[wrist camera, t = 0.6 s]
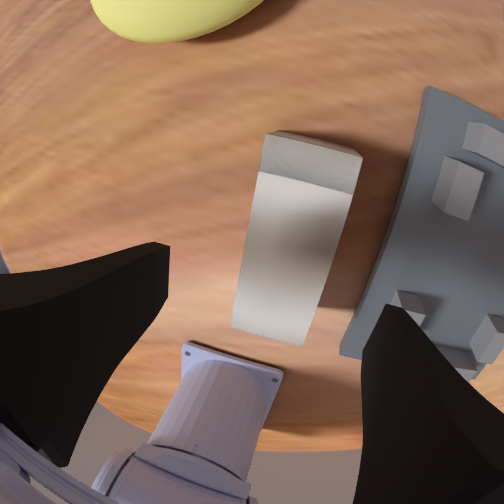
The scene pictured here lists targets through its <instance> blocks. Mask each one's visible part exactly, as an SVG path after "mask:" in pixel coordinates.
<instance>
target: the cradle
mask: <svg viewBox="0 0 504 504" xmlns="http://www.w3.org/2000/svg"><path fill="white" fill-rule="evenodd" d="M385 304H390V305H394V306H398V307H402V308H403V309H404V310H405V311H406V312H407V313H408V314H409V315H410V316H411V317H412V318H413V319H414V321H415V322H416V323H417V324H418V325H419V327H420V328H421V329H422V330H423V331H424V333H425V334H426V335H427V336H428V337H429V339H430V340H431V341H432V342H433V344H434V345H435V346H436V347H437V348H438V350H439V351H440V352H441V353H442V354H443V356H444V357H445V358H446V359H447V360H448V361H449V362H450V363H451V365H452V366H453V367H454V368H455V369H456V370H457V371H458V372H459V373H460V375H461V376H462V377H463V378H464V379H465V380H466V381H467V382H468V383H469V381H470V380H471V379H475V378H476V377H477V376H478V374H479V373H480V372H481V370H482V369H483V368H484V366H485V365H486V364H493V362H494V361H495V359H496V358H497V357H498V355H499V354H500V352H501V351H502V349H503V348H504V122H503V121H501V120H500V119H498V118H496V117H494V116H493V115H491V114H489V113H487V112H485V111H483V110H481V109H479V108H477V107H476V106H474V105H472V104H470V103H467V102H465V101H463V100H461V99H459V98H457V97H455V96H453V95H450V94H448V93H446V92H444V91H441V90H439V89H437V88H434V87H432V86H429V87H425V90H424V95H423V100H422V105H421V109H420V114H419V119H418V123H417V127H416V132H415V136H414V140H413V144H412V148H411V152H410V155H409V159H408V163H407V167H406V170H405V174H404V177H403V181H402V184H401V187H400V191H399V194H398V197H397V200H396V204H395V207H394V210H393V213H392V216H391V219H390V222H389V225H388V228H387V231H386V234H385V236H384V239H383V242H382V245H381V248H380V250H379V253H378V256H377V258H376V261H375V264H374V266H373V269H372V271H371V274H370V276H369V279H368V281H367V284H366V286H365V289H364V291H363V294H362V296H361V298H360V301H359V303H358V306H357V308H356V310H355V312H354V315H353V317H352V319H351V322H350V324H349V326H348V328H347V330H346V333H345V335H344V337H343V339H342V341H341V343H340V350H339V355H342V356H346V357H351V358H355V359H360V360H362V351H363V348H364V347H365V345H366V343H367V341H368V339H369V337H370V335H371V333H372V331H373V329H374V327H375V325H376V323H377V321H378V319H379V317H380V314H381V312H382V310H383V308H384V306H385Z"/></svg>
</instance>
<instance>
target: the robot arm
mask: <svg viewBox="0 0 504 504" xmlns="http://www.w3.org/2000/svg"><path fill="white" fill-rule="evenodd" d="M169 259H170V246H167V245H164V244H160V243H157V242H150V243H145V244H141V245H138V246H134V247H131V248H128V249H124V250H121V251H118V252H114V253H111V254H108V255H105V256H101V257H98V258H94V259H90V260H87V261H83V262H79V263H76V264H72V265H67V266H63V267H58V268H52V269H47V270H41V271H32V272H23V273H13V274H0V504H55V503H54V502H53V501H51V500H50V499H49V498H47V497H46V496H45V495H43V494H42V493H41V492H39V491H38V490H37V489H35V488H34V487H33V486H32V485H31V484H30V477H29V475H30V476H31V477H32V478H33V479H35V480H36V481H37V482H39V483H40V484H42V485H43V486H44V487H45V488H47V489H49V490H50V491H51V492H52V493H54V494H55V495H57V496H58V497H60V498H62V499H63V500H64V501H66V502H67V503H69V504H258V501H257V499H256V498H254V497H251V496H248V495H249V491H250V488H251V484H250V483H247V482H246V479H247V476H248V472H249V469H250V465H251V462H252V459H253V455H254V452H255V448H256V445H257V441H258V438H259V434H260V432H261V430H262V427H263V425H264V423H265V420H266V418H267V416H268V413H269V411H270V409H271V406H272V404H273V401H274V399H275V396H276V394H277V391H278V389H279V386H280V384H281V381H282V379H283V375H284V373H283V371H282V370H280V369H277V368H273V367H269V366H266V365H262V364H259V363H255V362H252V361H248V360H245V359H241V358H238V357H235V356H231V355H228V354H225V353H222V352H218V351H215V350H212V349H209V348H206V347H203V346H200V345H197V344H194V343H191V342H185V343H184V345H183V347H182V372H181V383H180V385H179V386H178V388H177V390H176V392H175V394H174V396H173V397H172V399H171V401H170V403H169V405H168V406H167V408H166V410H165V412H164V414H163V415H162V417H161V419H160V421H159V423H158V425H157V426H156V428H155V430H154V432H153V434H152V435H151V437H150V439H149V441H148V443H145V442H141V444H140V445H139V447H138V449H137V451H136V452H135V451H133V450H132V449H128V448H127V449H124V450H123V451H119V452H116V453H114V454H113V455H112V456H111V457H110V458H109V459H108V460H107V462H106V463H105V464H104V466H103V467H102V469H101V470H100V472H99V474H98V475H97V477H96V479H95V481H94V483H93V485H92V488H90V487H88V486H87V485H85V484H84V483H82V482H80V481H79V480H77V479H75V478H74V477H72V476H71V475H69V474H67V473H66V472H64V471H63V470H61V469H60V468H61V467H66V466H68V464H69V461H70V458H71V456H72V453H73V451H74V448H75V446H76V443H77V441H78V438H79V436H80V433H81V431H82V429H83V427H84V425H85V423H86V420H87V419H88V416H89V414H90V412H91V410H92V409H93V407H94V405H95V403H96V401H97V399H98V397H99V396H100V394H101V392H102V390H103V388H104V387H105V385H106V383H107V382H108V380H109V378H110V377H111V375H112V373H113V372H114V370H115V369H116V368H117V366H118V365H119V363H120V362H121V361H122V359H123V358H124V357H125V356H126V354H127V353H128V352H129V351H130V349H131V348H132V347H133V346H134V344H135V343H136V342H137V341H138V340H139V338H140V337H141V336H142V335H143V333H144V332H145V331H146V330H147V328H148V327H149V326H150V325H151V323H152V322H153V321H154V319H155V318H156V316H157V315H158V313H159V311H160V310H161V308H162V306H163V305H164V303H165V301H166V299H167V298H168V282H169ZM189 352H190V353H189ZM274 378H276V379H274ZM361 392H362V414H363V446H362V454H361V462H360V470H359V475H358V481H357V486H356V491H355V496H354V500H353V504H504V413H502V412H501V411H500V410H498V409H497V408H496V407H495V406H494V405H492V404H491V403H490V402H489V401H488V400H486V399H485V398H484V397H483V396H482V395H481V394H480V393H479V392H478V391H477V390H476V389H474V388H473V387H472V386H471V385H470V384H469V383H468V382H467V381H466V380H465V379H464V378H463V377H462V376H461V375H460V373H459V372H458V371H457V370H456V369H455V368H454V367H453V366H452V365H451V363H450V362H449V361H448V360H447V359H446V358H445V357H444V356H443V354H442V353H441V352H440V351H439V350H438V348H437V347H436V346H435V345H434V344H433V342H432V341H431V340H430V339H429V337H428V336H427V335H426V334H425V333H424V331H423V330H422V329H421V328H420V327H419V325H418V324H417V323H416V322H415V321H414V319H413V318H412V317H411V316H410V315H409V314H408V313H407V312H406V311H405V310H404V309H403V308H402V307H398V306H394V305H390V304H385V306H384V308H383V310H382V312H381V314H380V317H379V319H378V321H377V323H376V325H375V327H374V329H373V331H372V333H371V335H370V337H369V339H368V341H367V343H366V345H365V347H364V348H363V351H362V364H361Z"/></svg>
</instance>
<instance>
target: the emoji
mask: <svg viewBox="0 0 504 504" xmlns="http://www.w3.org/2000/svg"><path fill="white" fill-rule="evenodd" d="M262 1H263V0H91V3H92V6H93V9H94V11H95V13H96V14H97V16H98V17H99V19H100V20H101V21H102V23H103V24H104V25H105V26H106V27H108V28H109V29H110V30H111V31H113V32H114V33H116V34H118V35H119V36H121V37H124V38H127V39H129V40H132V41H138V42H143V43H170V42H179V41H183V40H188V39H192V38H196V37H199V36H202V35H205V34H208V33H211V32H213V31H216V30H218V29H220V28H222V27H224V26H226V25H229V24H231V23H232V22H234V21H235V20H237V19H239V18H241V17H242V16H244V15H246V14H247V13H248V12H250V11H251V10H252V9H254V8H255V7H256V6H258V5H259V4H260V3H261V2H262Z"/></svg>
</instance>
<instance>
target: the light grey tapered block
mask: <svg viewBox="0 0 504 504" xmlns="http://www.w3.org/2000/svg"><path fill="white" fill-rule="evenodd" d="M362 160H363V158H362V157H361V156H360V154H359V153H358V152H357V151H356V150H355V149H353V148H349V147H346V146H342V145H339V144H335V143H331V142H327V141H324V140H320V139H316V138H312V137H308V136H303V135H299V134H295V133H290V132H286V131H281V130H279V131H275V132H271V133H267V134H266V136H265V141H264V146H263V152H262V157H261V162H260V167H259V172H258V178H257V183H256V188H255V193H254V199H253V204H252V209H251V215H250V220H249V225H248V231H247V236H246V241H245V247H244V252H243V257H242V263H241V268H240V274H239V279H238V285H237V290H236V295H235V301H234V306H233V312H232V317H231V323H230V327H232V328H235V329H239V330H242V331H245V332H249V333H252V334H256V335H259V336H263V337H266V338H270V339H274V340H277V341H281V342H285V343H288V344H292V345H296V346H300V347H302V345H303V343H304V340H305V337H306V335H307V332H308V330H309V327H310V324H311V322H312V319H313V316H314V313H315V311H316V308H317V305H318V302H319V300H320V297H321V294H322V291H323V288H324V286H325V283H326V280H327V277H328V274H329V271H330V268H331V265H332V262H333V259H334V256H335V253H336V250H337V247H338V243H339V240H340V237H341V234H342V231H343V227H344V224H345V221H346V218H347V214H348V211H349V207H350V204H351V200H352V197H353V193H354V190H355V186H356V183H357V179H358V175H359V172H360V168H361V164H362Z"/></svg>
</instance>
